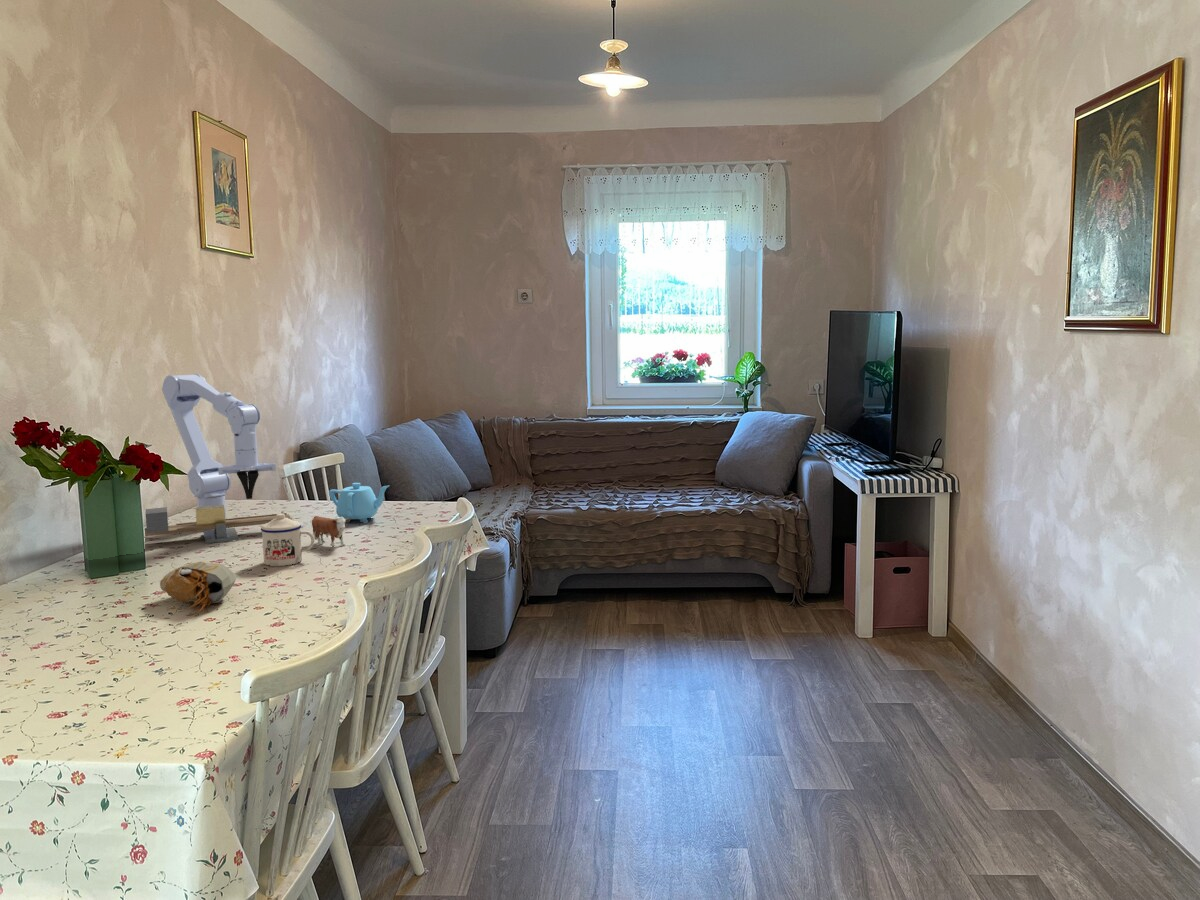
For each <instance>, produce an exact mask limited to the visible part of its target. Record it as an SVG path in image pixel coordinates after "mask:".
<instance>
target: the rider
mask: <svg viewBox="0 0 1200 900" xmlns="http://www.w3.org/2000/svg"><path fill="white" fill-rule="evenodd" d="M194 510H195V511H194V512H195V522H196V524H197V527H198V526H208V525H216V524H220V523H226V520H225V507H224V505H217V506H206V507H198V506H196V507H194Z"/></svg>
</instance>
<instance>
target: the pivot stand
mask: <svg viewBox="0 0 1200 900" xmlns="http://www.w3.org/2000/svg"><path fill="white" fill-rule="evenodd" d="M202 532H203V534H204V535H203V537H204V538H205V539H204V538H203V539H204V542H205V544H206V543H208V544H215V542H217V543H226V541H227V542H234V541H233V540H236V541H239V535H238V533H237V530H236V527H232V528H226V523H220V524H216V529H212V530H202Z"/></svg>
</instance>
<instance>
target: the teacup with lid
mask: <svg viewBox="0 0 1200 900" xmlns="http://www.w3.org/2000/svg"><path fill="white" fill-rule="evenodd" d="M276 514H277V515H276V519H273V520H271V521H270V522H269V523H266V524H261V528H260V531H261V537H262V538H261V539H262V553H263V563H264V565H265V566H268V565H270V566H269V567H286V566H285V565H288V566H292V564H293V565H296V564H299V563H301V562H302V560H303V553H304V552H308V551H309V550H311V549H312V548H313V546H314V544H315V541H316V539H315V538H314V535H313V532H311V531H308V530H301V528H302V525H301V522H299V521H298V520H293V519H292V520H291V519H289V518H285V515H284V514H282V513H276ZM301 535H308V536H309V537H310V540H311V541H310V544H309V546H307V547H303V548H302V536H301ZM298 562H299V563H298ZM295 563H296V564H295Z"/></svg>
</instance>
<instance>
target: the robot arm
mask: <svg viewBox="0 0 1200 900" xmlns="http://www.w3.org/2000/svg"><path fill="white" fill-rule="evenodd" d="M161 391H162V394H163V396H164V399H165V400H166V403H167V406H168V408H169V409H170V411H171V415H172V418H173V419H174V422H175V425H176V427H177V429H178V431H179V434H180V437H181V439H182V442H183V444H184V447H185V450H186V452H187V454H188V456H189V460H190V462H191V464H192V466H191V468H190V469H189V471H188V472H187V474H186V476H187V478H188V485H189V486H188V487H189V489H190V492H191V493H192V495H194V497H195V498H196V500H197V507H206V506H217V505H224V507H225V519H227V509H226V496H225V495H227V494H228V491H229V490H230V487H231V483H232V481H231V476H230V475H229V474H236V476H237V477H238V479H239V481H240V483H241V485H242V487H243V491H244V493H245V498H246V500H252V499H253V494H254V488H255V484H256V483H257V480H258V477H259V476H260V475H259V472H268V471H272V472H276V471H277V470H276V469H277V466H276V463H275V462H267V463H264V462H262V463H261V462H259V456H258V441H257V440H258V439H257V425H258V424H259V422H260V420H261V413H260V410H259V408H258V407H257V406H256V405H255V404H254V403H250V404H245V403H244V402H243V401H242V400H239V399H238V398H236V397H235V396H233V394H232V393H231V392H229V391H228V392H226V391H225V392H219V391H218V390H217V389H216V388H214V386H212V385H211V384H209V383H208V382H207V380H206V378H205V377H204V376H202V375H201V374H199V373H192V374H183V375H182V374H180V375H170V374H169V375H167V376H165V378H164V379H163V382H162V387H161ZM201 399H203V400H205V401H207V402H208V403H211V404H212V408H213V409H214V410H215V411H216V412H217V413H219V414H221V415H222V416H224V417H225V418H227V421H228V423H229V425H230V427H231V428H230V429H231V432H232V434H233V442H234V443H233V444H234V459H235V464H234V465H225V466H223V464H222V463H220V462H219V461H216V460H214V459H213V458H212V455H211V453H210V450H209V448H208V444H207V443H206V440H205V437H204V435H203V433H202V430H201V428H200V425H199V423H198V421H197V418H196V416H195V413H194V407H196V406H198V404H199V402H200V400H201Z"/></svg>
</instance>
